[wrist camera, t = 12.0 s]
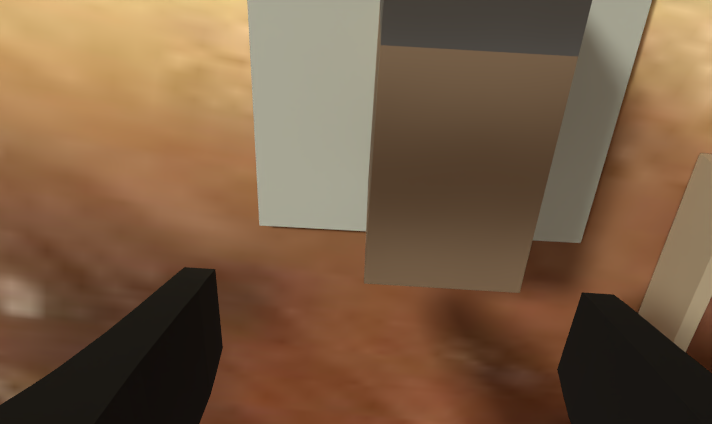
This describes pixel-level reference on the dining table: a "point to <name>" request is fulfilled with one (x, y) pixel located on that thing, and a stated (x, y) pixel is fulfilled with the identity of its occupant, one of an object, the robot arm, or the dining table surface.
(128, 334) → the robot arm
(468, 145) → the block
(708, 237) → the wooden box
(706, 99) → the dining table surface
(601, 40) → the mat
